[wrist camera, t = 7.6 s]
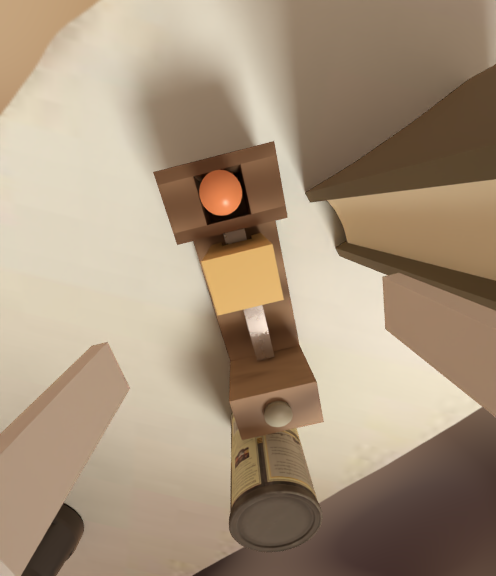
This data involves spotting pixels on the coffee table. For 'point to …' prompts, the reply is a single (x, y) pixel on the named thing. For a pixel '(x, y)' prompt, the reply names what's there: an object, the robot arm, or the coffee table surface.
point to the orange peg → (220, 192)
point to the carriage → (242, 274)
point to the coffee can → (271, 492)
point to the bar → (254, 312)
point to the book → (428, 197)
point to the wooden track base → (279, 315)
